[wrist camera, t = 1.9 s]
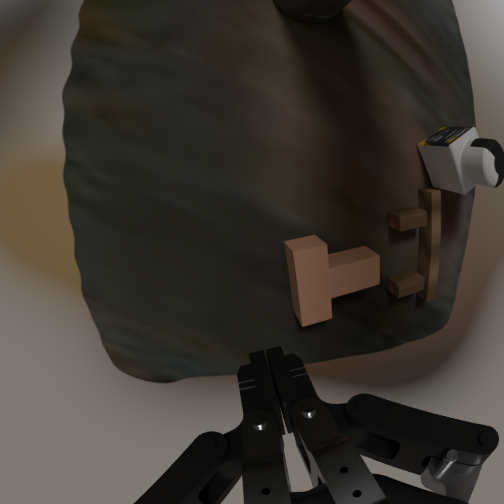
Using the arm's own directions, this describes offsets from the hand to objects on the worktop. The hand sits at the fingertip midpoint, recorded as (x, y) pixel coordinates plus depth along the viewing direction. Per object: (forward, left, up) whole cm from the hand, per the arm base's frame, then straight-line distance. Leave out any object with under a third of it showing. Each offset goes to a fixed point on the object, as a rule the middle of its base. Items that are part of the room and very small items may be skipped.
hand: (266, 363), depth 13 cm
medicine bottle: (-6, +32, -22) cm, 39 cm away
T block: (+7, +12, -22) cm, 26 cm away
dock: (+7, +25, -22) cm, 34 cm away
